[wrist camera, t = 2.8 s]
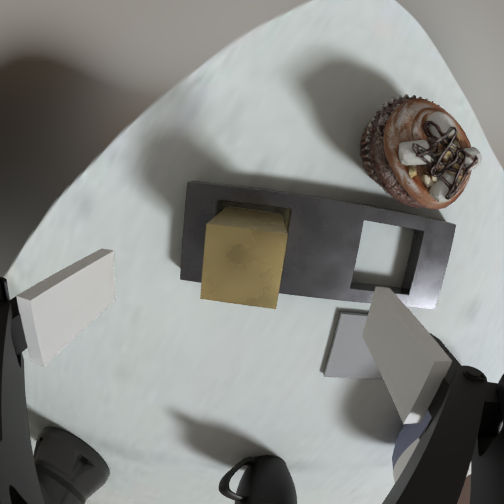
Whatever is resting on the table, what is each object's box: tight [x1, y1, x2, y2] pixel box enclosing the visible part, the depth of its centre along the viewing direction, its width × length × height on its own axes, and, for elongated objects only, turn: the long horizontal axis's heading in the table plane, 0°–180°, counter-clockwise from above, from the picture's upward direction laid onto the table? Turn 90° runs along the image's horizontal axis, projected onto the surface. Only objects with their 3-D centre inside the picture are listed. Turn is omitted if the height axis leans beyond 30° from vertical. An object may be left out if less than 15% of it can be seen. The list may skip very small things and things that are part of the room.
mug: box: [219, 455, 297, 504], centre depth 33 cm, size 8×12×10 cm
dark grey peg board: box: [180, 181, 456, 309], centre depth 28 cm, size 26×9×2 cm, turn 83°
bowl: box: [392, 411, 471, 483], centre depth 30 cm, size 16×16×10 cm
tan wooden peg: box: [200, 206, 288, 309], centre depth 24 cm, size 5×5×10 cm
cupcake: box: [360, 94, 482, 209], centre depth 22 cm, size 10×10×10 cm
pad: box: [323, 311, 383, 379], centre depth 31 cm, size 8×8×1 cm
